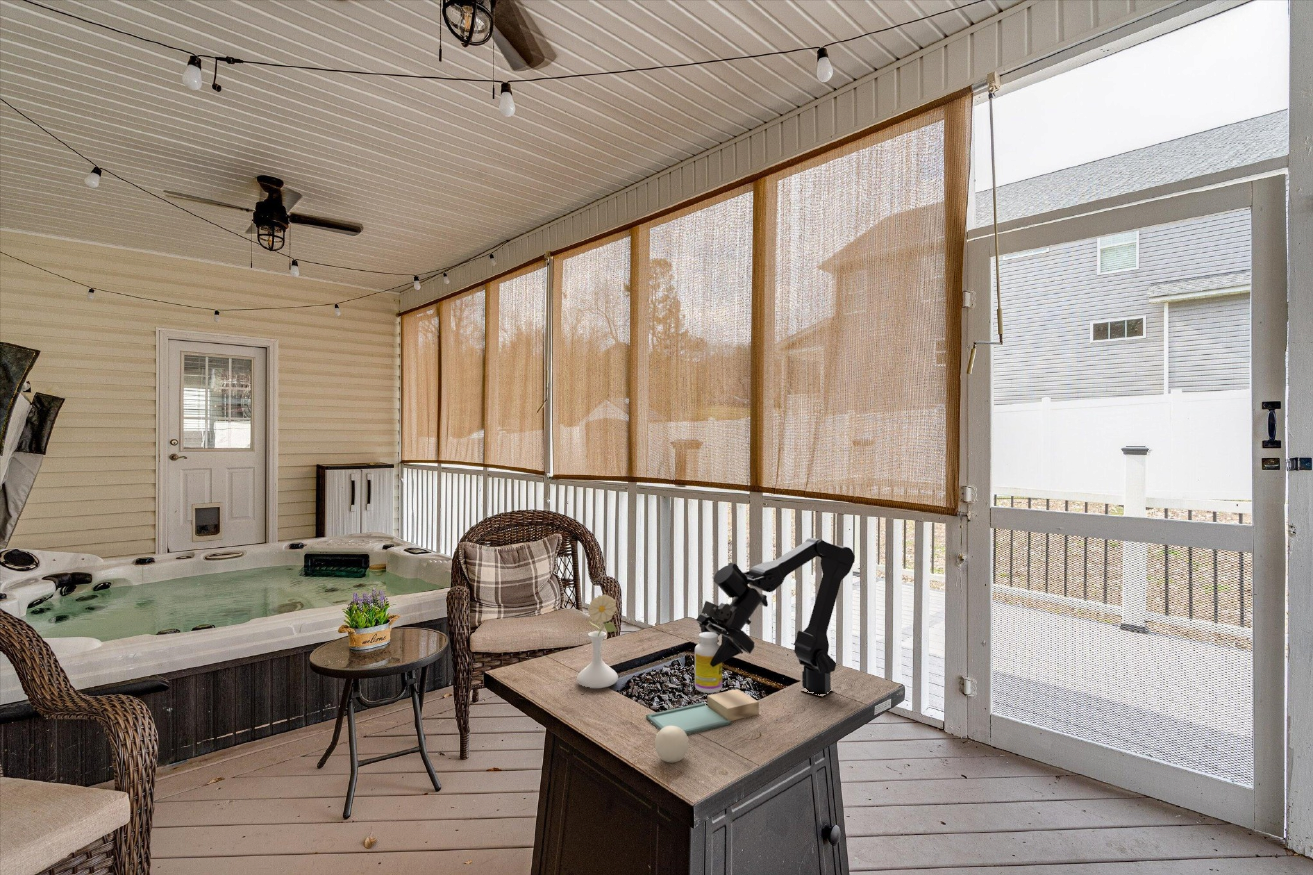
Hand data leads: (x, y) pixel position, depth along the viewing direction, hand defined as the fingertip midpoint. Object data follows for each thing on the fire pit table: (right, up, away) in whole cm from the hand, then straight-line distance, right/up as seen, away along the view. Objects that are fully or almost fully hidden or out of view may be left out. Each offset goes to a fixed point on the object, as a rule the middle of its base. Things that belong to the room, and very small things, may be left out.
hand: (703, 661), depth 148 cm
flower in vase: (-27, -14, +20) cm, 37 cm away
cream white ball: (-8, -13, -21) cm, 26 cm away
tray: (-4, -13, -3) cm, 14 cm away
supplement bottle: (+1, -7, +1) cm, 7 cm away
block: (+7, -13, +3) cm, 15 cm away
